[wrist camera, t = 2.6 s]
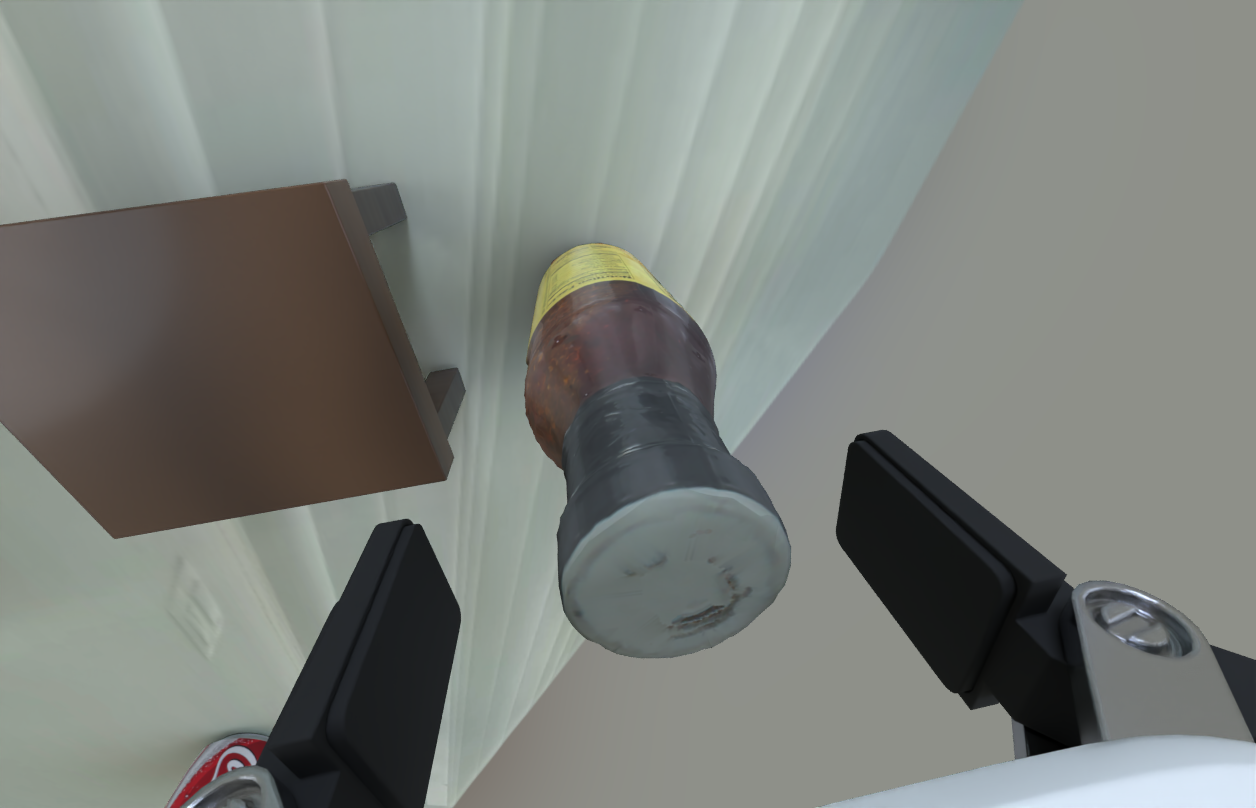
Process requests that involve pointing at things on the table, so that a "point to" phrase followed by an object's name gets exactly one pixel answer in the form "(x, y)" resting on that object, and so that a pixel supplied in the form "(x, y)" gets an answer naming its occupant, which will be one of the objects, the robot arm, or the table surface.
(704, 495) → the sauce bottle
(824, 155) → the table surface
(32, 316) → the plate
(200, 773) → the soda can
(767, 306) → the table surface
